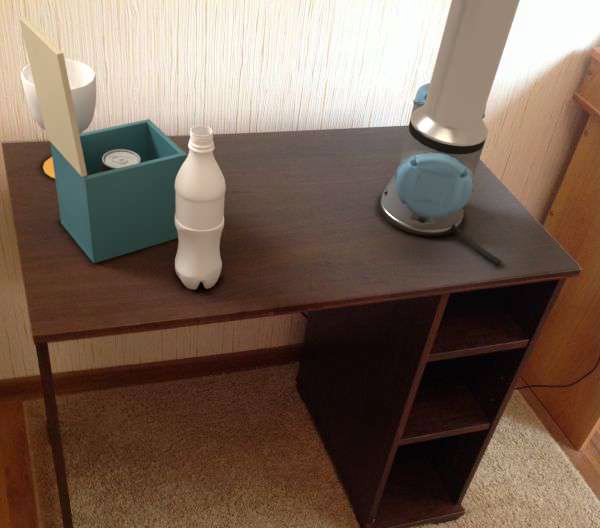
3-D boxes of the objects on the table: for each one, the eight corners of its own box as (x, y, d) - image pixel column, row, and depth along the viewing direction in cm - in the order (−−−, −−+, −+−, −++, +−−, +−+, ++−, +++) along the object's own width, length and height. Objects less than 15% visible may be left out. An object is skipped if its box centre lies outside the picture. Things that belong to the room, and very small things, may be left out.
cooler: (151, 199, 131) (149, 118, 121) (186, 235, 125) (187, 154, 115) (61, 223, 124) (49, 139, 113) (93, 263, 118) (85, 179, 107)
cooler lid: (24, 15, 99) (18, 16, 99) (63, 52, 93) (57, 54, 93) (52, 136, 113) (46, 137, 112) (87, 175, 107) (81, 177, 106)
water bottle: (198, 260, 121) (201, 112, 103) (230, 281, 119) (240, 133, 100) (165, 278, 117) (162, 127, 99) (198, 300, 114) (201, 150, 96)
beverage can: (133, 241, 121) (129, 174, 112) (97, 228, 122) (90, 161, 114) (153, 221, 126) (151, 155, 117) (118, 209, 127) (113, 143, 118)
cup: (89, 191, 131) (80, 96, 118) (24, 178, 131) (8, 81, 119) (112, 158, 139) (105, 65, 126) (50, 145, 139) (38, 52, 127)
